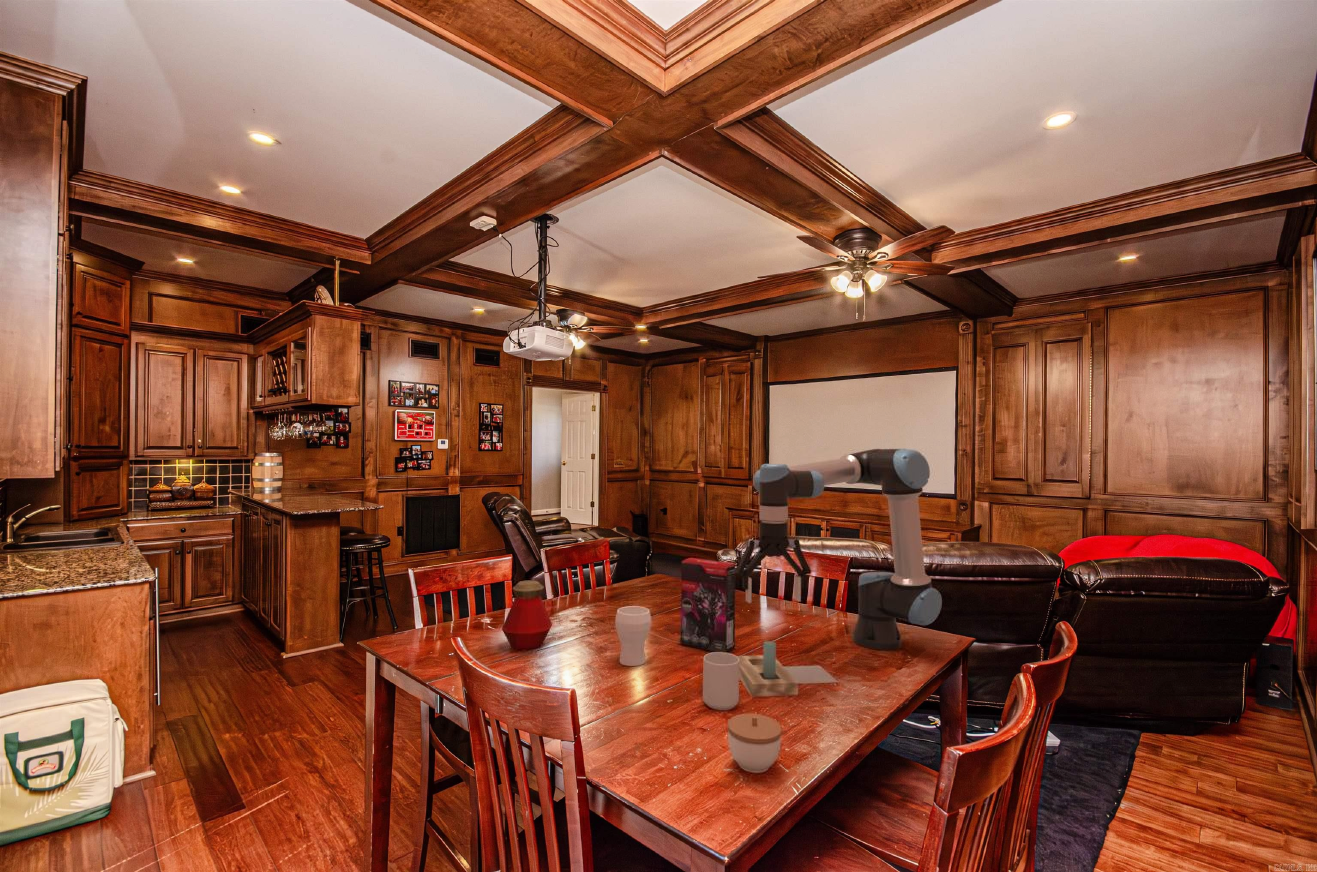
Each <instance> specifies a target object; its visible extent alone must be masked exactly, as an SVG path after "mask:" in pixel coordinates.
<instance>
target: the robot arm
mask: <svg viewBox="0 0 1317 872" xmlns="http://www.w3.org/2000/svg"><path fill="white" fill-rule="evenodd" d="M930 475H931V471H930V466H929V462H928V461H927V459H926V457H925V456H924V455H923V454H922V453H921V452H919V451H918V450H916V449H907V448H873V449H868V450H862V451H858V452H854V453H849V454H844V455H842V456H840V458H836V459H830V460H824V461H822V460H821V461H816V462H811V463H809V462H808V463H804V464H797V465H790V466H788V465H787V464H786V463H764V464H762V465H760V468H759V469H758V470H757V471H756V472H755V473H754V475H753V478H752V481H753V482H752V483H753V487H754V489H755V490H756V492H759V512H758V513H759V518H758V519H759V521H760V522H759V524H758V528H759V531H758V540H755V539H751V538H748V539H747V543H746V547H745V550H744V552H743V554H742V556H741V559H740V561H739V563H738V565H736V566H737V567H735V574H736V575H738V576H739V577H740V576H741V577H742V578H741V580H742V582H741V586H742V589H743V590H745V602H747V603H748V604H751V603H752V583H753V582H752V577H750V576H751V574H752V573H753V571H755V570H756V568H757V567H758V566H759V565H760V563H761V562H762V561H763V559H765V558H766V557H768V558H772V557H777V558H779V557H781V556H782V557H783V558H784V560H785V561H786V562H787V563H788V564H789V566H790V567H792V569H793V570H794V572H795V573H796V574H794V575H793V576H794V577H793V578H794V581H793V586H794V587H793V591H794V593H793V594H794V595H793V597H794V598H793V599H794V600H795V601H796V602H798V603H799V602H801V601H802V600H801V599H802V597H801V595H802V589H803V588H804V587H805V577H806V576H807V575H810V574H811V573H812V570H811V568H810V566H809V563H808V561H807V560H806V557H805V556H804V554H803V553H804V552H803V551H802V549H801V545H800V540H799V539H797V538H794V537H793V538H792V539H789V537H788V536H789V533H788V532H789V530H788V529H789V524H788V522H787V521H788V520H789V499H812V498H817V497H819V496H822V495H821V494H823V492H824V489H825V486H829V485H830V486H831V485H835V484H841V483H846V484H848V485H854V484H862V485H863V484H864V485H874V486H881V494H882V495H883V496H884V497H886V498H887V502H888V503H887V504H888V505H887V506H888V514H889V525H890V536H891V544H892V554H893V566H894V572H890V571H889V572H888V571H872V572H871V571H869V572H863V573H861V574H860V575H859V578H858V585H857V588H858V589H857V590H858V591H857V593H858V595H857V596H858V597H857V598H858V611H857V613H858V616H857V621H856V622H855V623H856V624H855V625H854V629H853V632H852V642H854V643H855V644H857V645H859V646H861V647H863V648H867V649H872V650H878V651H879V650H881V651H894V650H898V649H900V648H902V637H901V633H900V631H899V628H898V627H899V626H898V624H897V619H899V620H902V621H905V622H909V623H911V624H913V625H920V626H928V625H931V624H932V623H933V622H934V621H935V620H936V619H937V618H938V616H939V614H940V612H941V609H942V604H943V600H942V594H941V593H940V592H939V590H937V589H936V588H935V587H933V586H932V578H931V577H930V576H929V575H927V573H926V570H925V569H926V567H925V559H924V558H925V557H924V549H923V539H922V538H923V537H922V528H921V517H920V506H919V496H920V495H922V494H923V492H924V491H923V488H924V487H925V486H926V485H927V484H928V483H929V479H930V477H931V476H930ZM757 546H758V547H759V550H757V552H756V555H755V556H754V557H753V559H752V560H751V561H750V562H749V560H750V558H751V556H752V554H753V552H754V549H756V548H757ZM789 546H790V547H791V548H792V549H793V552H794V554H795V556H796V558H797V560H798V563H799V564H800V566H799V564H797V562H796V561H795V560H794V558H793V557H792V556H791V554H790V553H789V552H788V550H787V549H788V547H789ZM748 563H749V564H748Z"/></svg>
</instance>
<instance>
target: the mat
mask: <svg viewBox="0 0 1317 872" xmlns="http://www.w3.org/2000/svg"><path fill="white" fill-rule="evenodd" d="M783 667H784V668H785V669H786V670H787V671H788V672H789V673H790V674H791V675H792V677H793V678H794V679H795V680H796V681H797V682H798V685H799V684H823V683H825V684H827V683H828V684H829V683H838V681H837V680H836V679H835V678H834V677H833V676H832V675H831V674H830V673H828V671H826V670H825V669H824V668H823V667H822V666H821V665H795V666H791V665H790V666H783Z"/></svg>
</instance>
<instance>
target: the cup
mask: <svg viewBox="0 0 1317 872" xmlns="http://www.w3.org/2000/svg"><path fill="white" fill-rule="evenodd" d="M614 620H615V622H614V623H615V631H616V634H617V636H618V639H619V641H620V647H621V649H620V656H619V663H620V664H621V665H622V666H628V667H637V666H642V665H644V664H645V663H646V662H647V661H646V652H645V646H646V640H647V639H648V636H649V634H650V631H651V628H652V616H651V611H650V609H649V608H647V607H644V606H638V605H637V606H636V605H632V606H631V605H629V606H624V607H619V608H618V609H617V611H616V615H615V619H614Z"/></svg>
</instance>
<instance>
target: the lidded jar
mask: <svg viewBox="0 0 1317 872" xmlns="http://www.w3.org/2000/svg"><path fill="white" fill-rule="evenodd" d="M782 729H783V728H782V726H781V724H780V723H779V722H778V721H776V720H775V719H773V718H772V717H769V716H768V715H763V714H757V713H740V714H736V715H735V716H731V718H729V719H728V721H727V739H728V746H729V747H728V748H729V751H730V754H731V756H732V757H733V759H734V760H735V762H736V763H737V764H738V766H739V767H740V768H741V769H742V770H744V771H745V772H748V773H753V774H762V773H765V772H767V771H768V770H769V769H770V767H771V766H773V765H774V764H775V762H776V761H777V759H778V757H779V755H780V750H781V744H782Z"/></svg>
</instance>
